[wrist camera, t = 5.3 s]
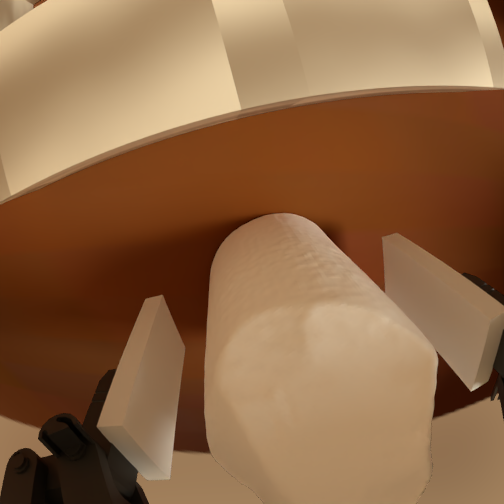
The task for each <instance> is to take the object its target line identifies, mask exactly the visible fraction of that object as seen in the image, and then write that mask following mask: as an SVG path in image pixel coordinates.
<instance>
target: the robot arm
mask: <svg viewBox="0 0 504 504" xmlns="http://www.w3.org/2000/svg"><path fill="white" fill-rule="evenodd" d="M382 244H383V257H384V273H385V294H386V295H387V296H388V297H389V298H390V299H391V300H392V301H393V302H394V303H395V304H396V305H397V306H398V307H399V308H400V309H401V310H402V311H403V312H404V314H405V315H406V316H407V317H408V318H409V319H410V320H411V321H412V322H413V323H414V324H415V325H416V326H417V327H418V329H419V330H420V331H421V332H422V333H423V334H424V336H425V337H426V338H427V339H428V340H429V342H430V343H431V344H432V345H433V347H434V348H435V349H436V351H437V352H438V353H439V354H440V355H441V356H442V357H443V359H444V360H445V361H446V362H447V363H448V365H449V366H450V367H451V368H452V369H453V370H454V372H455V373H456V374H457V375H458V376H459V378H460V379H461V380H462V381H463V382H464V384H465V385H466V386H467V387H468V389H469V390H470V391H473V390H475V389H476V388H478V387H480V386H481V385H483V384H485V383H486V382H488V381H489V378H490V375H491V372H492V369H493V368H494V369H495V370H496V371H497V372H498V373H499V375H498V378H497V381H496V383H495V386H494V389H493V391H492V394H491V401H492V400H494V398H495V396H496V393H497V391H498V392H499V397H498V400H499V399H500V402H501V407H502V413H503V419H504V296H503V295H502V294H501V293H499V292H498V291H497V290H494V288H492V287H491V286H489V285H487V284H486V283H485V282H484V281H482V280H481V279H479V278H478V277H476V276H473V275H470V274H467V273H463V274H459V273H458V272H457V271H455V270H454V269H452V268H451V267H449V266H448V265H446V264H445V263H443V262H442V261H440V260H439V259H437V258H436V257H434V256H433V255H431V254H430V253H428V252H427V251H425V250H424V249H422V248H421V247H419V246H417V245H416V244H414V243H413V242H411V241H410V240H408V239H406V238H405V237H403V236H402V235H400V234H398V233H395V234H392V235H388V236H384V237H382ZM184 355H185V346H184V344H183V341H182V339H181V337H180V335H179V332H178V330H177V328H176V326H175V323H174V321H173V319H172V316H171V314H170V311H169V309H168V307H167V304H166V302H165V299H164V297H163V295H159V296H155V297H151V298H147V299H145V301H144V304H143V306H142V308H141V311H140V313H139V315H138V318H137V320H136V322H135V325H134V327H133V330H132V332H131V335H130V337H129V340H128V342H127V345H126V347H125V350H124V352H123V355H122V357H121V360H120V362H119V365H118V368H117V369H113V370H108V372H107V373H106V374H105V375H104V376H103V377H102V379H101V380H100V381H99V384H98V386H97V389H96V391H95V392H96V394H94V396H93V399H92V403H91V404H90V406H89V409H88V412H87V414H86V417H85V420H84V422H83V425H81V424H80V422H79V421H78V420H77V419H76V418H75V417H74V416H73V415H71V414H66V413H63V414H59V415H56V416H54V417H52V418H50V419H49V420H48V421H47V422H46V423H45V424H44V425H43V426H42V428H41V430H40V432H39V437H38V439H39V440H40V441H41V442H42V443H43V444H44V446H46V448H47V449H48V450H49V451H50V452H51V453H52V454H53V455H51V456H47V457H42V458H40V457H39V456H38V455H37V454H36V453H35V452H34V451H33V450H31V449H29V448H23V449H20V450H18V451H17V452H15V453H14V454H13V455H12V456H11V458H10V459H9V461H8V464H7V467H6V471H5V475H4V480H3V486H2V490H1V496H0V504H149V503H148V501H147V498H146V496H145V494H144V492H143V489H142V488H141V486H140V485H139V484H138V483H137V482H136V479H137V473H138V472H139V473H140V474H141V475H142V476H143V477H144V478H145V479H146V480H170V477H171V466H172V455H173V445H174V435H175V426H176V417H177V408H178V400H179V392H180V384H181V376H182V369H183V362H184Z"/></svg>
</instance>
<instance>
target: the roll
mask: <svg viewBox="0 0 504 504" xmlns="http://www.w3.org/2000/svg"><path fill="white" fill-rule="evenodd" d="M437 367H438V356H437V353H436V350H435V348H434V347H433V345H432V344H431V343H430V342H429V340H428V339H427V338H426V337H425V336H424V334H423V333H422V332H421V331H420V330H419V329H418V327H417V326H416V325H415V324H414V323H413V322H412V321H411V320H410V319H409V318H408V317H407V316H406V315H405V314H404V312H403V311H402V310H401V309H400V308H399V307H398V306H397V305H396V304H395V303H394V302H393V301H392V300H391V299H390V298H389V297H388V296H387V295H386V294H385V293H384V292H383V291H382V290H381V289H380V288H379V287H378V286H377V285H376V284H375V283H374V282H373V281H372V280H371V279H370V278H369V277H368V276H367V275H366V274H365V273H364V272H363V271H362V270H361V269H360V268H359V267H358V266H357V265H356V264H354V263H353V261H352V260H351V259H350V258H349V257H348V256H346V255H345V254H344V253H343V252H342V251H341V250H340V249H339V248H338V247H337V246H336V245H335V244H334V243H333V242H332V241H331V240H330V239H329V238H328V237H327V235H326V234H325V233H324V232H323V231H322V230H321V229H320V228H319V227H318V226H317V225H316V224H315V223H313V222H312V221H310V220H308V219H306V218H304V217H302V216H298V215H295V214H290V213H275V214H269V215H264V216H262V217H259V218H256V219H254V220H252V221H250V222H248V223H246V224H244V225H242V226H240V227H239V228H238V229H236V230H234V231H233V232H232V233H231V234H230V235H229V236H228V237H227V238H226V239H225V240H224V241H223V243H222V244H221V246H220V247H219V249H218V251H217V253H216V255H215V257H214V260H213V263H212V266H211V272H210V283H209V299H208V316H207V334H206V352H205V367H204V369H205V379H204V390H205V391H204V416H205V424H206V436H207V441H208V445H209V449H210V452H211V455H212V456H213V458H214V459H215V461H216V462H217V463H219V464H220V465H221V466H222V467H223V468H224V469H225V470H226V471H227V472H228V473H229V474H230V475H231V476H232V477H234V478H236V479H237V480H238V481H239V482H240V483H241V484H243V485H245V486H247V487H248V488H250V489H251V490H252V491H253V492H254V493H255V494H256V495H257V496H258V497H259V498H260V499H261V501H262V502H263V503H264V504H417V501H418V498H419V497H420V496H421V495H422V494H423V493H424V491H425V489H426V486H427V484H428V483H429V481H430V479H431V476H432V469H433V463H432V456H431V425H432V417H433V412H434V396H435V391H436V385H437V378H436V376H437Z"/></svg>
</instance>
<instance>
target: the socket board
mask: <svg viewBox="0 0 504 504" xmlns="http://www.w3.org/2000/svg"><path fill="white" fill-rule="evenodd" d="M38 1H40V0H0V204H2V203H5V202H7V201H10V200H12V199H15V198H17V197H20V196H22V195H25V194H28V193H30V192H33V191H36V190H39V189H41V188H43V187H45V186H47V185H49V184H51V183H53V182H56V181H58V180H60V179H62V178H64V177H67V176H69V175H71V174H73V173H76V172H78V171H80V170H83V169H85V168H88V167H90V166H93V165H95V164H97V163H100V162H102V161H105V160H108V159H110V158H113V157H115V156H118V155H121V154H124V153H126V152H129V151H132V150H135V149H137V148H140V147H143V146H146V145H149V144H152V143H155V142H158V141H161V140H164V139H167V138H171V137H174V136H177V135H180V134H184V133H187V132H191V131H194V130H198V129H201V128H205V127H208V126H212V125H216V124H220V123H224V122H227V121H232V120H236V119H240V118H244V117H248V116H253V115H257V114H262V113H267V112H271V111H276V110H281V109H287V108H292V107H298V106H303V105H309V104H315V103H322V102H328V101H336V100H343V99H351V98H360V97H369V96H379V95H391V94H406V93H427V92H464V91H478V90H499V89H504V49H503V45H502V42H501V39H500V35H499V32H498V29H497V26H496V23H495V20H494V17H493V15H492V12H491V9H490V6H489V4H488V1H487V0H47V1H46V2H44V3H42V4H41V5H39V6H37V7H36V8H34V9H33V4H35V3H37V2H38Z"/></svg>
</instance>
